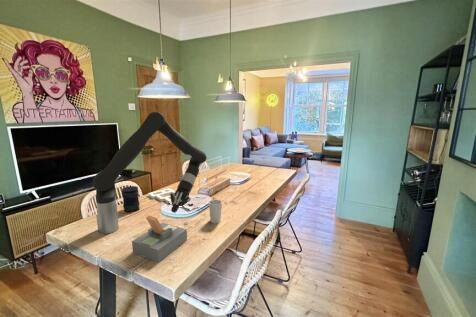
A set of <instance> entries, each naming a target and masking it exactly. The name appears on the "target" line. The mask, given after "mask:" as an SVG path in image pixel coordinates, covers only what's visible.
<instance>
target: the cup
mask: <svg viewBox="0 0 476 317" xmlns="http://www.w3.org/2000/svg"><path fill="white" fill-rule="evenodd" d="M222 204H223V201H222V200H221V199H211V200H209V201H208V210H209V211H208V212H209V219H210V220H209V221H210V222H211V223H212V224H219V223H220V222H221V221H222V219H221V218H222V207H223V206H222Z"/></svg>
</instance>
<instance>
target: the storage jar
mask: <svg viewBox="0 0 476 317" xmlns="http://www.w3.org/2000/svg"><path fill="white" fill-rule="evenodd" d="M139 193H140V192H139V187H138V186H134V185H132V186H125V187H122V188H121V195H122V199H123V200H122V201H123V203H122V206H123V212H124V213H126V214H133V213H136V212H138V211H139V210H141V208H140V199H139Z"/></svg>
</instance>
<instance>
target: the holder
mask: <svg viewBox="0 0 476 317" xmlns="http://www.w3.org/2000/svg"><path fill="white" fill-rule="evenodd" d="M175 191H176V190H174V189H172V188H164V189H161V190H156V191H151V192H148V193H147V195H148V197H149V198H150V199H152V200H155V199H156V200H158V201H160V202H161V203H162V202H165V203H166V204H168V203H169V202H171V196H170V194H171V193H172V194H173V193H175Z"/></svg>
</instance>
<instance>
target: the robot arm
mask: <svg viewBox="0 0 476 317" xmlns="http://www.w3.org/2000/svg"><path fill="white" fill-rule="evenodd" d="M156 132H159V133H161V134H162V135H164V136H165V137H166V138H167V140H169V141H170V142H171V143H172V144H173V145H174V146H175V148H177V149H178V150H179V151H181V153H183V154H184V155H186V156H187V155H188V156H190V159H189V162H188V165H187V168H186V170H185V172H184V174H183V175H182V177H181V178H180V181H179V183H178V185H177V189H176V190H174V191H175V193H173V194H172V193H171V194H170V195H169V196H171V199H170V200H171V202H172V203H173V204H172V207H171V210H170V211H171V212H172V213H174V214H176V212H177V211H178V210H179V206H183V205H185V204H186V203H187V202H189V201H190V200H192V199H191V197H190V193H191V192H192V190H193V188H194V185H195V183H196V180H197V178H198V175H199V172H200V167H201V165H202V164H203V163H205V162H206V161H207V154H206V153H205V151H203V150H201V149H200V148H198V147H197V146H195V145H193V144H192V143H191V142H190V141H189V140H188V139H187V138H186V137H184V135H182V134H180V133H179V132H178V131H176V130H175V128H173V127H172V126H171V125H170V123H169V122H168V121H167V120H166V118H165V115H164V114H162V113H161V112H159V111H152V112H149V114H147V117H146V118H145V119H144V121H143V122H142V123H141V125H140V126H139V128H138V129H137V130H135V132H134V133H133V134H131V135H130V137H128V138H127V140H125V141H124V143H123V144H122V145H121V146H120V147H119V149H118V150H117V151H116V152H115V154H114V155H113V157H112V159H111V160H110V161H109V163H108V165H107V166H106V167H104V169H103V170H101V171H98V172H97V173H96V175H95V176H94V177H93V180H92V186H93V189H95V191H96V192H95V193H96V194H95V195H96V196H95V202H96V209H97V211H96V212H97V214H96V224H97V231H98V232H99V233H100V234H105V235H107V234H111V233H114V232H116V231H118V229H119V228H120V227H119V217H118V207H117V197H116V193H117V192H116V180H117V178H118V177H119V176H120V175H121V173H122V172H124V170H125V169H126V168H128V166H129V165H131V163H132V162H133V161H134V160H135V159H136V158H137V157H138V156H139V154H140V153H141V152H142V151H143V149H144V148H145V146H146V145H147V143H148V142H149V140H150V139H151V137H152V136H153V135H154V134H156Z"/></svg>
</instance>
